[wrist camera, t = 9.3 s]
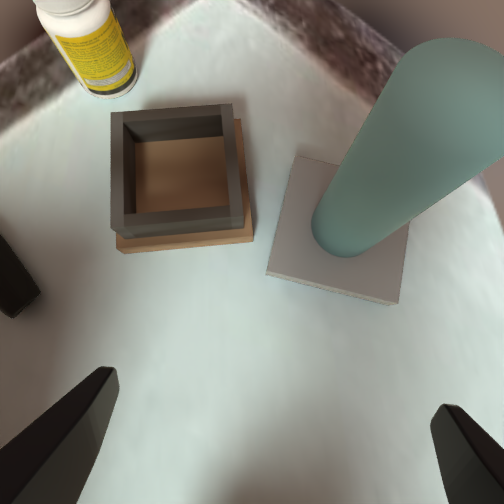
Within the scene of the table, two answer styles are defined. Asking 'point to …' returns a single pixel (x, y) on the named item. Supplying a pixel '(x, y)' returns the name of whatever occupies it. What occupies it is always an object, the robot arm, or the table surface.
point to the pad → (321, 262)
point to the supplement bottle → (90, 44)
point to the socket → (178, 179)
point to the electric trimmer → (14, 283)
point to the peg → (415, 144)
